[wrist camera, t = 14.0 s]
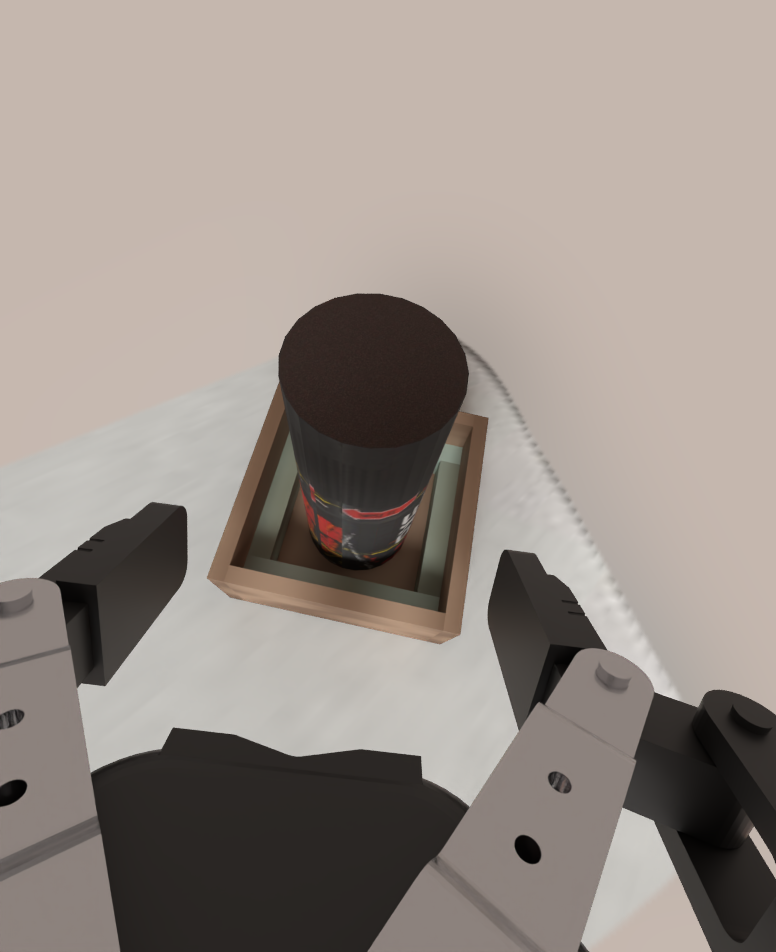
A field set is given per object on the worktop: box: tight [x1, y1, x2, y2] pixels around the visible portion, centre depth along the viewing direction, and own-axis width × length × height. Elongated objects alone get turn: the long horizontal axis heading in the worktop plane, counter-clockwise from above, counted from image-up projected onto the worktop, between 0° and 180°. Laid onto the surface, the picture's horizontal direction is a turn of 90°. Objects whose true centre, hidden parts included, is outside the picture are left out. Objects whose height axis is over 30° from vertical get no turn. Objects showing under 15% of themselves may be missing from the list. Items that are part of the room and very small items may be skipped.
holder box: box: [207, 381, 488, 644], centre depth 27 cm, size 12×12×5 cm
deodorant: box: [278, 294, 469, 571], centre depth 21 cm, size 6×6×15 cm
